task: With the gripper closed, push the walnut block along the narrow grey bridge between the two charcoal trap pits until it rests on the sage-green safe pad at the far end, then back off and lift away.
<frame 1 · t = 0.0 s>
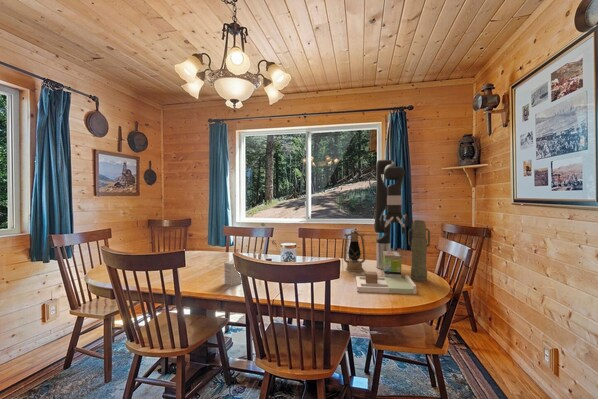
hand: (394, 233, 160), 29 cm above the table, fingers open, 8 cm apart
walnut block: (371, 281, 163), point 2 cm above the table, touching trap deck
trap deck: (384, 286, 162), on the table
tea box: (391, 277, 182), on the table
lantern: (354, 269, 200), on the table
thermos: (418, 279, 176), on the table
supplement box: (233, 284, 170), on the table
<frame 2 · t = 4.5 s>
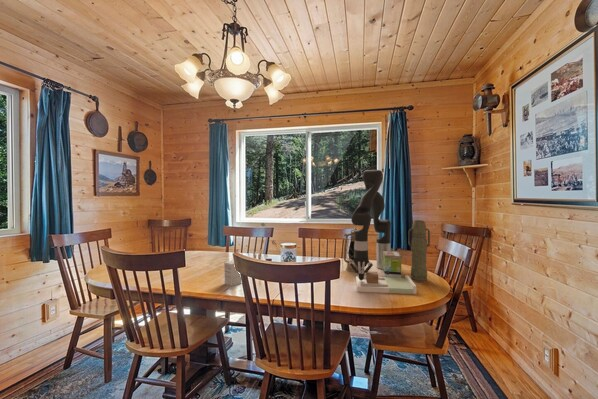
hand: (361, 279, 164), 3 cm above the table, fingers closed
walnut block: (372, 281, 163), point 3 cm above the table, touching gripper
everything else where it was.
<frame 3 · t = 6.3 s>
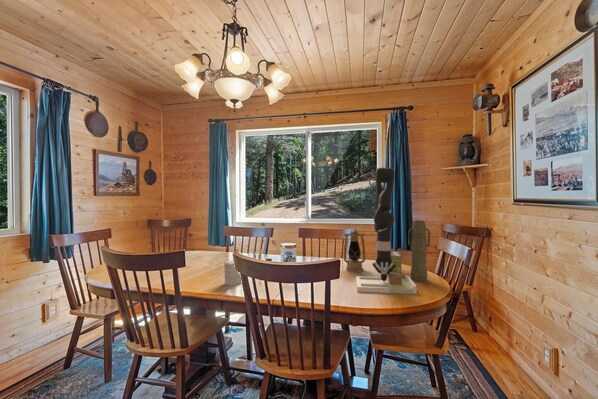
hand: (383, 280, 162), 3 cm above the table, fingers closed
walnut block: (395, 283, 161), point 3 cm above the table, touching gripper, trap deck
everything else where it was.
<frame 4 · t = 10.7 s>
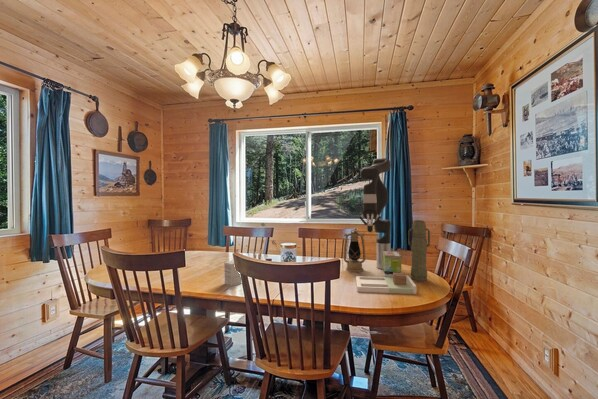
hand: (369, 232, 171), 29 cm above the table, fingers closed
walnut block: (399, 283, 160), point 2 cm above the table, touching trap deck
everything else where it was.
at the end: walnut block inside the target area on the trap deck (0.9 cm from its centre), point 2.5 cm above the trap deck's base; walnut block tilted 0° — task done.
